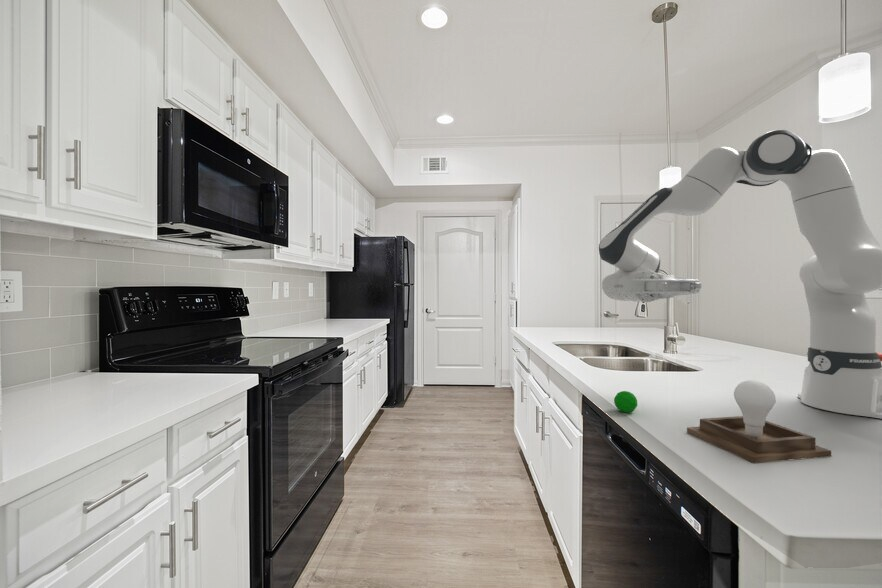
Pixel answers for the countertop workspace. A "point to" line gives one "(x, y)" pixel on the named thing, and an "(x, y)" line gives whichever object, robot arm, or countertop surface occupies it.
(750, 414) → the lightbulb
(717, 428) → the brown rimmed tray
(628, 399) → the polyhedron
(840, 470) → the countertop surface
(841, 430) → the countertop surface
